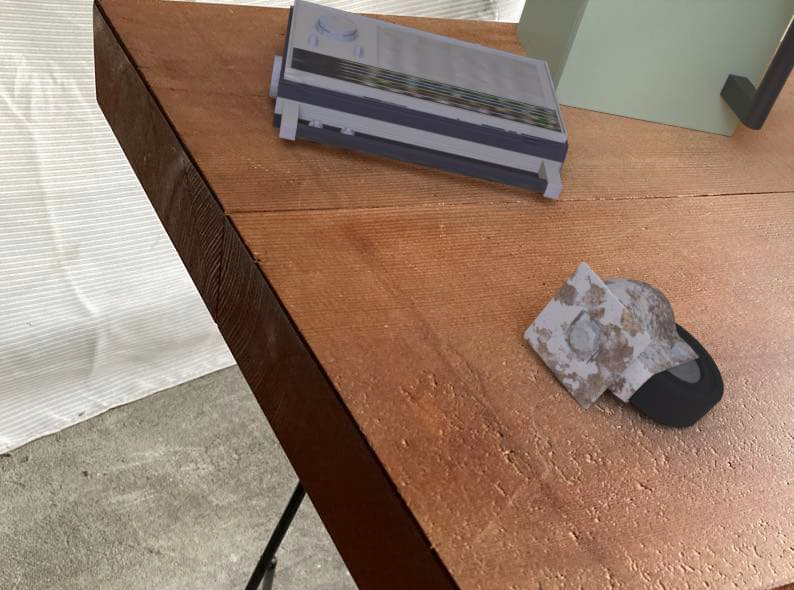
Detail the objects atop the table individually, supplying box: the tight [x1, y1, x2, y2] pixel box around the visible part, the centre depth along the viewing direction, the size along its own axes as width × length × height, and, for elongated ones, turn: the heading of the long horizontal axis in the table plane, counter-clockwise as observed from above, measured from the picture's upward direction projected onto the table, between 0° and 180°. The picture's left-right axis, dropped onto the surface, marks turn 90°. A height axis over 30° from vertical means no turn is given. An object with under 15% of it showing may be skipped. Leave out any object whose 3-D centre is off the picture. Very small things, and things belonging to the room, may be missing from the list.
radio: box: [268, 0, 570, 200], centre depth 83 cm, size 24×5×20 cm
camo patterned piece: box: [523, 261, 725, 429], centre depth 64 cm, size 7×11×10 cm
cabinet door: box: [554, 0, 794, 137], centre depth 88 cm, size 8×20×22 cm, turn 98°
